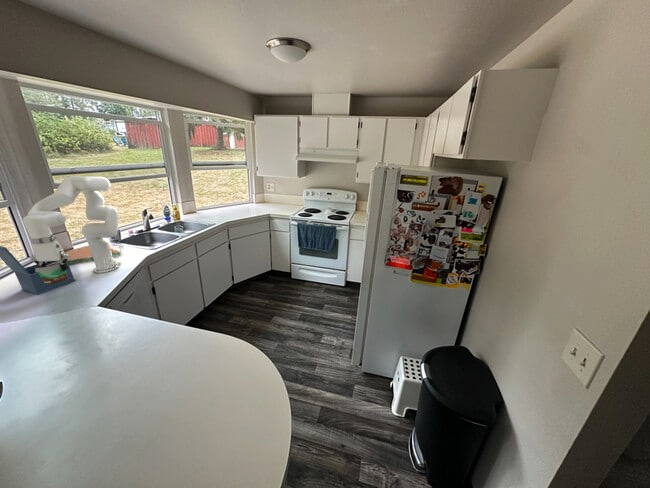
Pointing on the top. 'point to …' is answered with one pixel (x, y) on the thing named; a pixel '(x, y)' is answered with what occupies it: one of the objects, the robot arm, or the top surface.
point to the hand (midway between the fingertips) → (56, 270)
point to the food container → (52, 273)
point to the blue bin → (40, 280)
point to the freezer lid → (12, 261)
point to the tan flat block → (87, 253)
